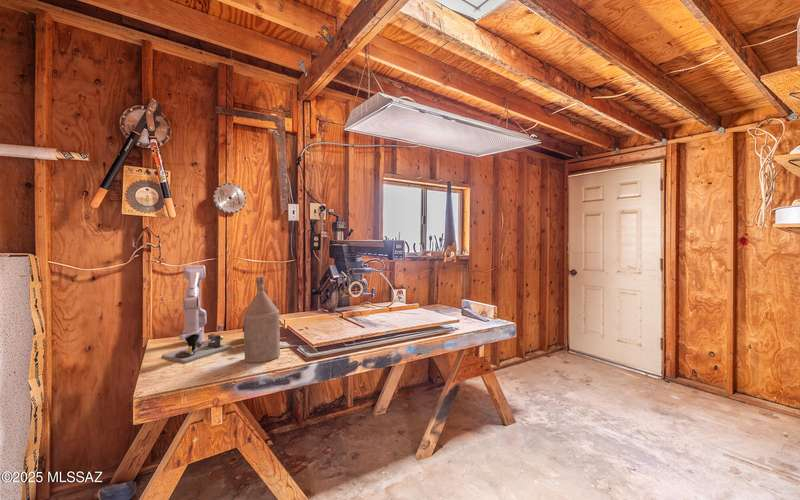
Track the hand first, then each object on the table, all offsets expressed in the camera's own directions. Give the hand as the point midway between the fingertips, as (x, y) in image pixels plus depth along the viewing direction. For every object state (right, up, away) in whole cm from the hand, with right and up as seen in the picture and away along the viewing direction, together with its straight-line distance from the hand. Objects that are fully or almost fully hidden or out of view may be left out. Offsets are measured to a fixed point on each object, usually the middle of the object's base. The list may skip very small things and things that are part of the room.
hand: (191, 350), depth 160 cm
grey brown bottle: (+34, -4, +1) cm, 34 cm away
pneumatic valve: (+14, -3, +30) cm, 33 cm away
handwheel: (-3, -2, 0) cm, 4 cm away
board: (-1, -4, +7) cm, 8 cm away
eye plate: (+3, -2, +14) cm, 15 cm away
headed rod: (+2, -1, +12) cm, 13 cm away
